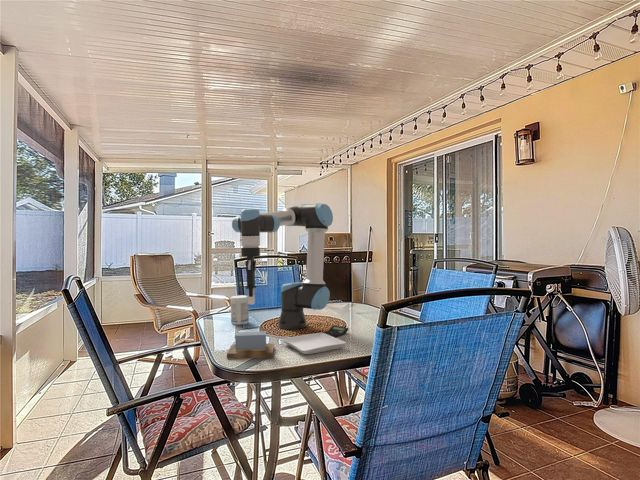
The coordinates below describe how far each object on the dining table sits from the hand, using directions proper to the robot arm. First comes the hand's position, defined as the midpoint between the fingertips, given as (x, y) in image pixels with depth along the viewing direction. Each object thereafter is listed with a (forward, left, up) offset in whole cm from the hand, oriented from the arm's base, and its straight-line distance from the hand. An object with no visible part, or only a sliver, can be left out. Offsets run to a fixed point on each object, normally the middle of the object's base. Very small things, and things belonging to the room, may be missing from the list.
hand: (251, 304), depth 156 cm
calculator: (-37, -26, -21) cm, 50 cm away
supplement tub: (+12, -54, -21) cm, 59 cm away
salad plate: (-26, -6, -21) cm, 34 cm away
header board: (0, 0, -20) cm, 20 cm away
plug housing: (0, 0, -18) cm, 18 cm away
